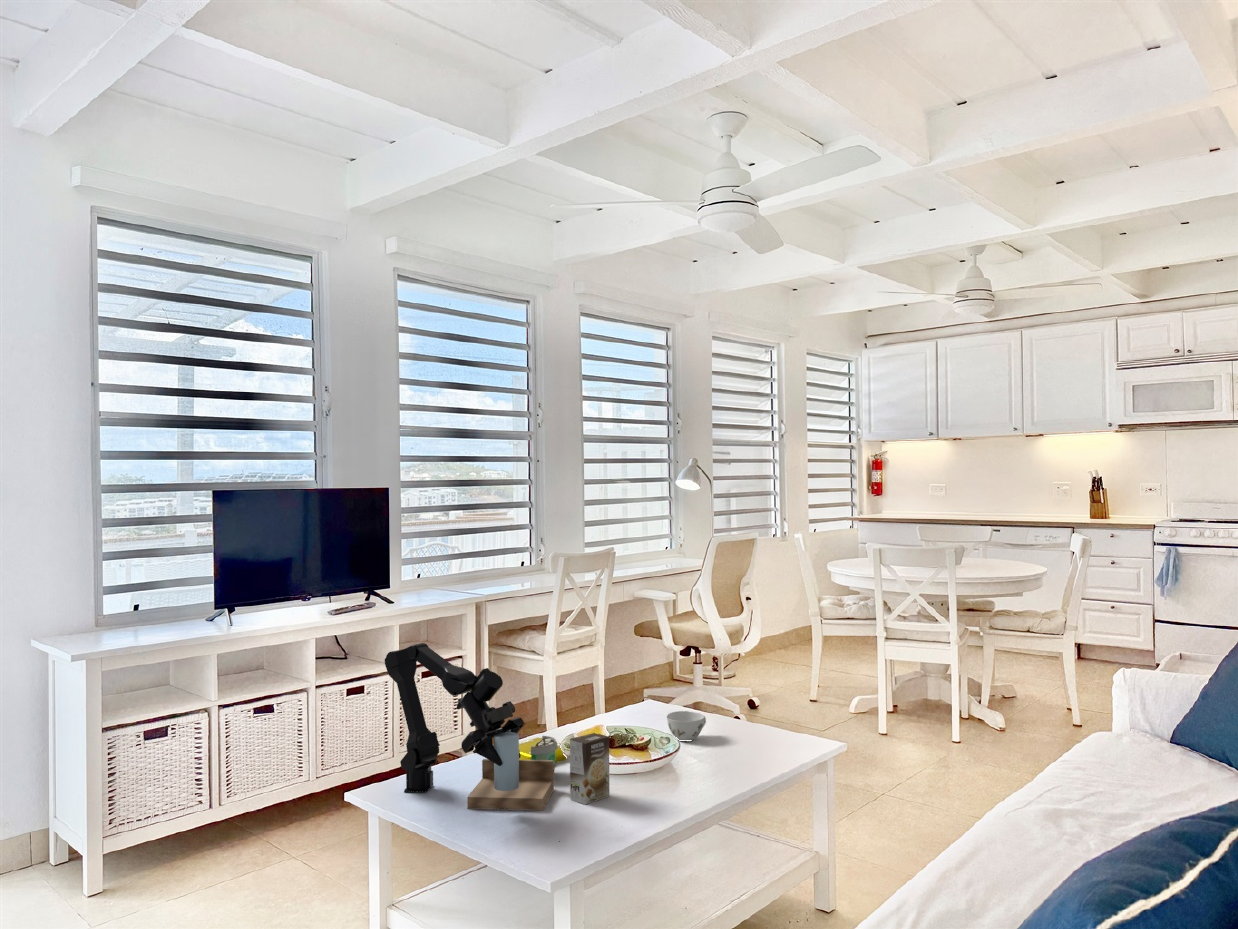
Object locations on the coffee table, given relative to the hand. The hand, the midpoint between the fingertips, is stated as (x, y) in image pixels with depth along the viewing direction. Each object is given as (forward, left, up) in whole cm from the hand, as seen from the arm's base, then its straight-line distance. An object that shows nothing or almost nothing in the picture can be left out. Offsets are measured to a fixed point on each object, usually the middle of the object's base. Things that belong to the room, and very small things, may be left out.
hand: (510, 761), depth 219 cm
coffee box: (+19, +13, -14) cm, 27 cm away
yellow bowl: (-3, +46, -14) cm, 49 cm away
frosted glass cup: (-1, +1, -7) cm, 7 cm away
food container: (+4, +30, -14) cm, 33 cm away
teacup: (+44, +70, -14) cm, 84 cm away
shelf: (-2, +11, -13) cm, 18 cm away
